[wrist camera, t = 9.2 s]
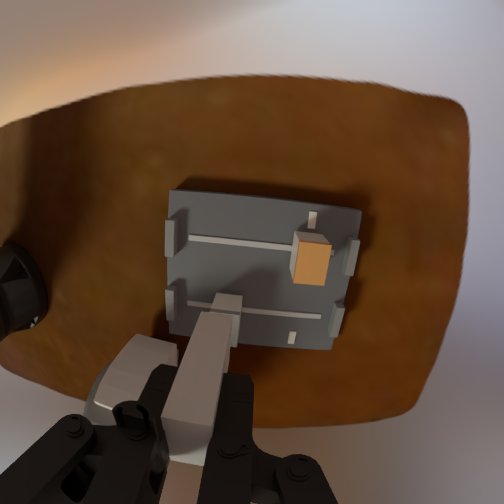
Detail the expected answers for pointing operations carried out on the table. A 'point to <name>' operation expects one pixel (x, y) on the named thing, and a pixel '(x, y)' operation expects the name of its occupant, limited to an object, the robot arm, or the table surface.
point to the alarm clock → (127, 377)
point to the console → (257, 265)
